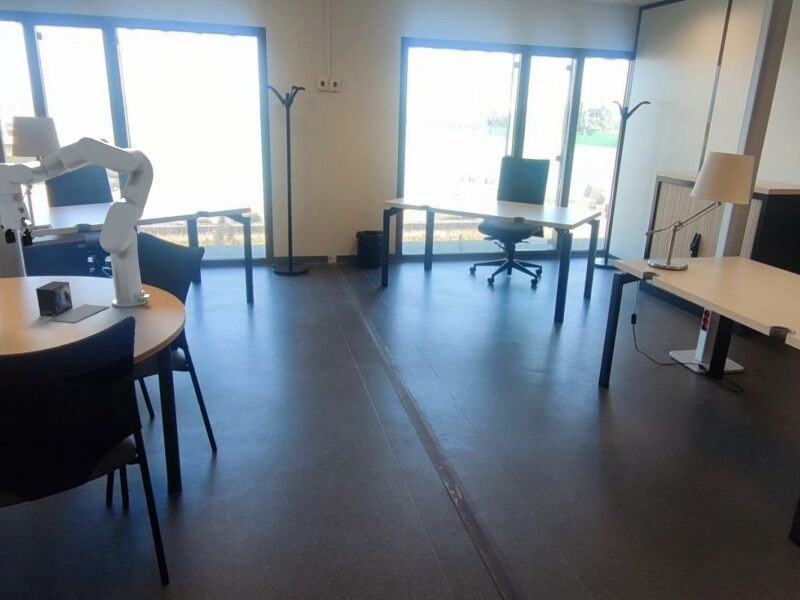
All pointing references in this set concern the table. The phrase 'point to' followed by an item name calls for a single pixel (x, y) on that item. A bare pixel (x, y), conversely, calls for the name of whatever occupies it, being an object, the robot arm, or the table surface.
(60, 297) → the small box
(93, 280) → the table surface
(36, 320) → the table surface
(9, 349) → the table surface
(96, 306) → the mat
